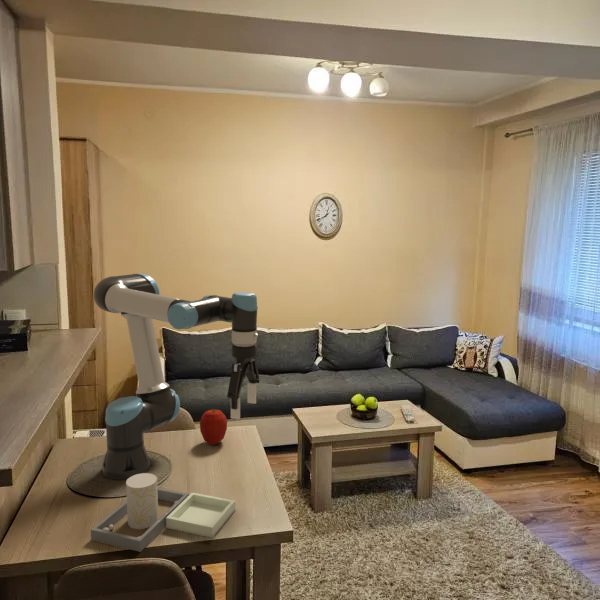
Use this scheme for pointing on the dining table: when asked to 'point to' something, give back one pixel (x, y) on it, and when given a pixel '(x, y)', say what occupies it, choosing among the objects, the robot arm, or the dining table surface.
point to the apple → (213, 426)
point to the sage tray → (201, 515)
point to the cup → (142, 500)
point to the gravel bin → (133, 543)
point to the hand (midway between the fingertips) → (243, 410)
